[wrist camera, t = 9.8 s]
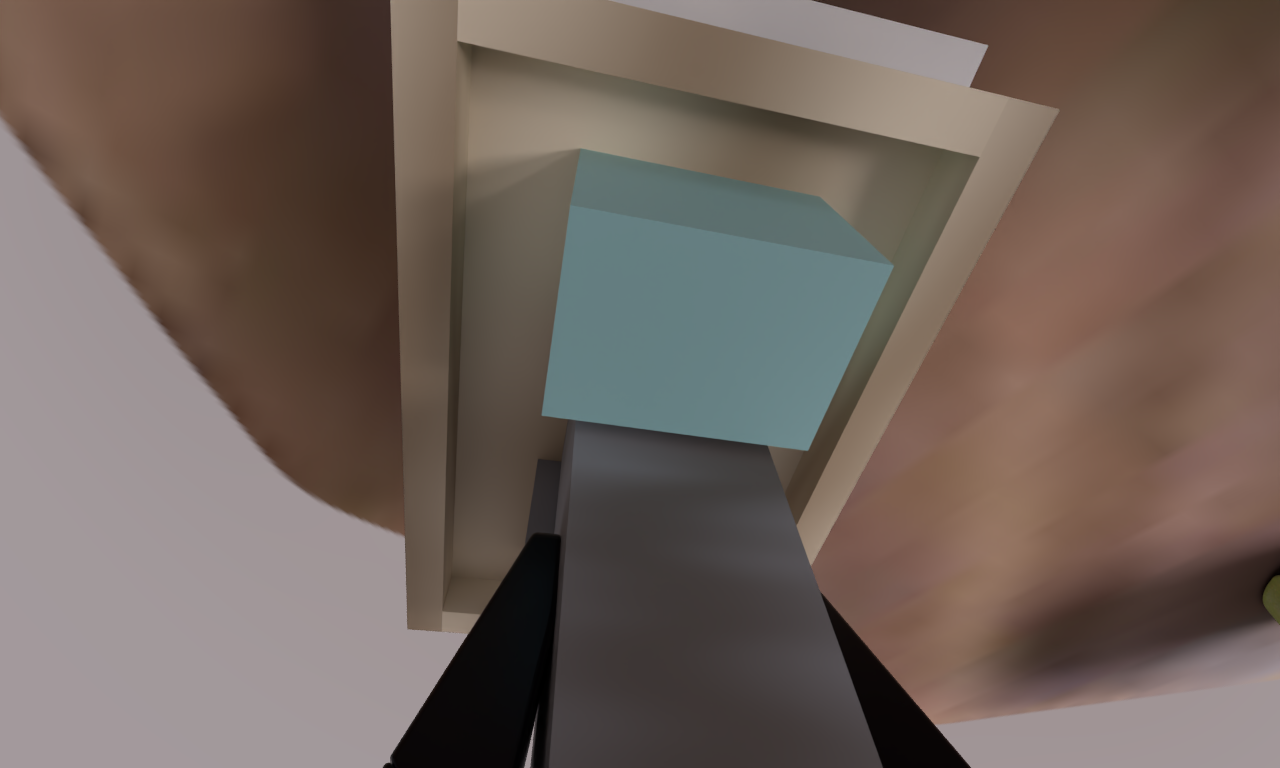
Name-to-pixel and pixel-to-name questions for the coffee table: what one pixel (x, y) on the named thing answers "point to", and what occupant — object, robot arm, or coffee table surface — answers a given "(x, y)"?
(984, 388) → the coffee table surface
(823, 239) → the teal block
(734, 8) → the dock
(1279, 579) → the plant pot
